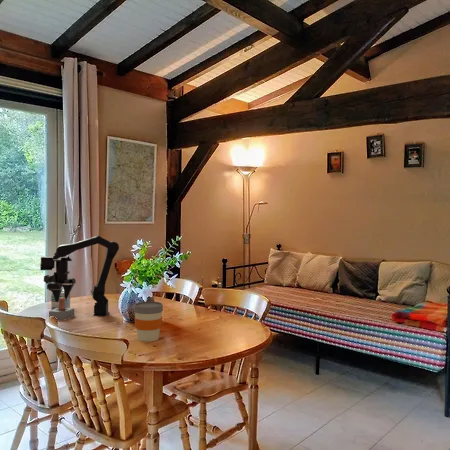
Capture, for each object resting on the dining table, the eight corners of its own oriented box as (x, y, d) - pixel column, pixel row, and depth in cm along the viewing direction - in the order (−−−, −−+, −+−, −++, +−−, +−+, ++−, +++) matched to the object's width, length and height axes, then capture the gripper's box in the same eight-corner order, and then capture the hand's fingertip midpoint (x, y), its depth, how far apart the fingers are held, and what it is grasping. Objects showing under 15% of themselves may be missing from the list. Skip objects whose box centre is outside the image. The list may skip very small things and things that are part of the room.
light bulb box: (63, 312, 233) (63, 292, 232) (50, 312, 233) (50, 292, 232) (70, 308, 243) (70, 289, 243) (58, 308, 243) (58, 288, 243)
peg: (66, 316, 224) (66, 297, 224) (63, 318, 221) (63, 298, 221) (60, 316, 225) (60, 297, 224) (57, 317, 222) (57, 298, 221)
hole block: (74, 315, 227) (74, 308, 227) (65, 320, 218) (65, 312, 218) (58, 314, 228) (58, 307, 228) (48, 319, 219) (48, 311, 219)
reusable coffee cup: (128, 337, 191) (129, 303, 191) (154, 332, 199) (154, 300, 198) (141, 344, 181) (142, 308, 181) (167, 339, 189) (168, 305, 188)
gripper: (56, 266, 232) (56, 295, 233) (36, 271, 214) (36, 303, 214) (76, 267, 231) (75, 297, 231) (58, 272, 212) (57, 304, 213)
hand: (61, 300), depth 223 cm, fingers open, 9 cm apart
